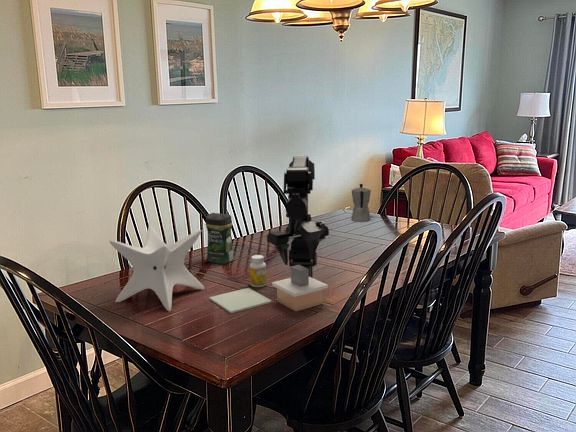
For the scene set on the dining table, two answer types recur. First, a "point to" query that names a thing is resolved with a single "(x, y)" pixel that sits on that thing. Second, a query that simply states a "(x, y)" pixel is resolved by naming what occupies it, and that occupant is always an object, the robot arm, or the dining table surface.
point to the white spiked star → (158, 266)
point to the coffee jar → (219, 238)
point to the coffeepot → (361, 204)
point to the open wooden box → (300, 299)
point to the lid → (299, 282)
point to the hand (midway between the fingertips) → (298, 261)
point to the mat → (240, 300)
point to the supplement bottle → (258, 271)
